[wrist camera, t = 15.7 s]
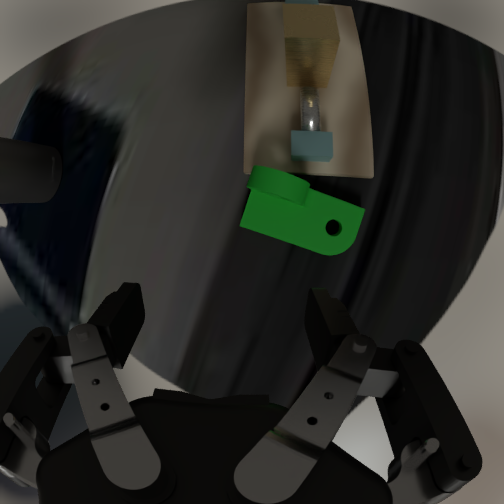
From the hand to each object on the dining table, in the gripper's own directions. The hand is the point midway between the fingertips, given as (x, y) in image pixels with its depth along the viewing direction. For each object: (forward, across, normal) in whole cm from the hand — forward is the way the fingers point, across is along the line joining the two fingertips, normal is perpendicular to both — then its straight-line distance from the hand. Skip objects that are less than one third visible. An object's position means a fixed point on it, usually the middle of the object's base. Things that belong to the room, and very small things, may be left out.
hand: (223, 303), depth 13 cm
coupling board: (+22, +8, +16) cm, 28 cm away
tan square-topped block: (+21, +7, +16) cm, 27 cm away
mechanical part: (+18, +7, 0) cm, 20 cm away
